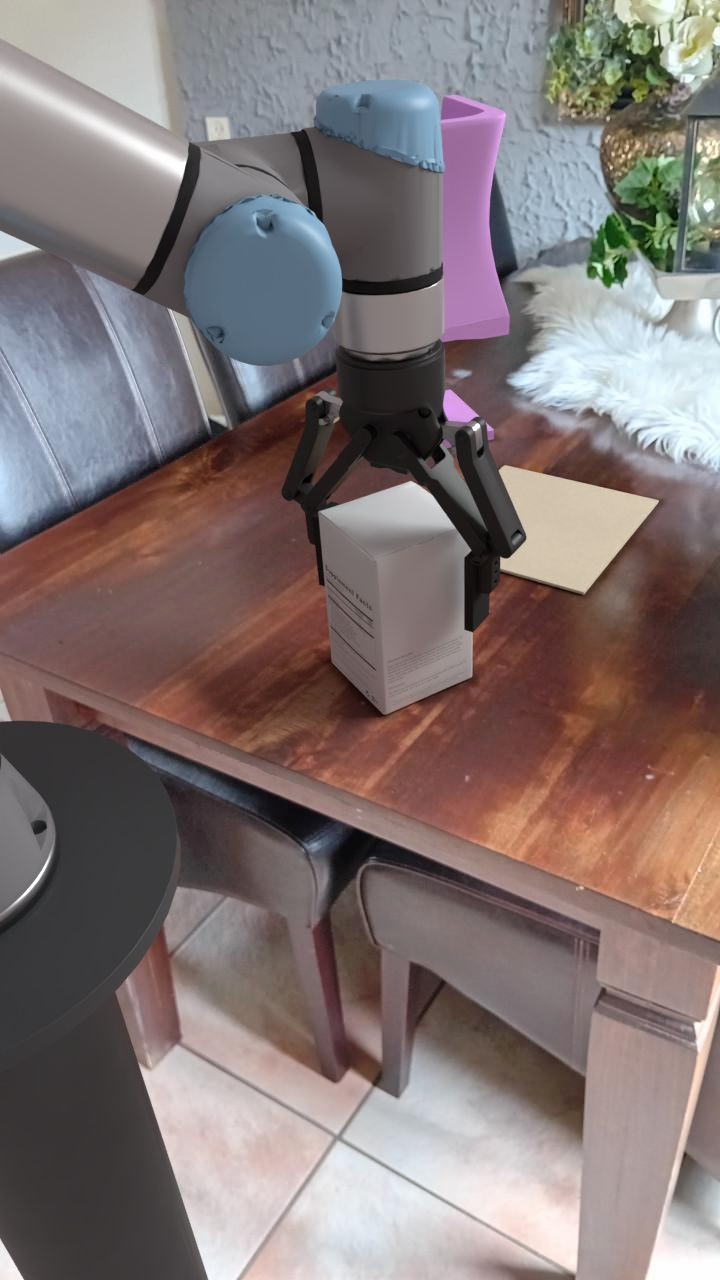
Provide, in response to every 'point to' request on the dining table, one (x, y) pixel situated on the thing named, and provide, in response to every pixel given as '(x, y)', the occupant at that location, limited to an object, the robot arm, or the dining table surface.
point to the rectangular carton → (395, 595)
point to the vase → (469, 232)
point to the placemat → (569, 527)
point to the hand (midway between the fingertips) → (401, 599)
